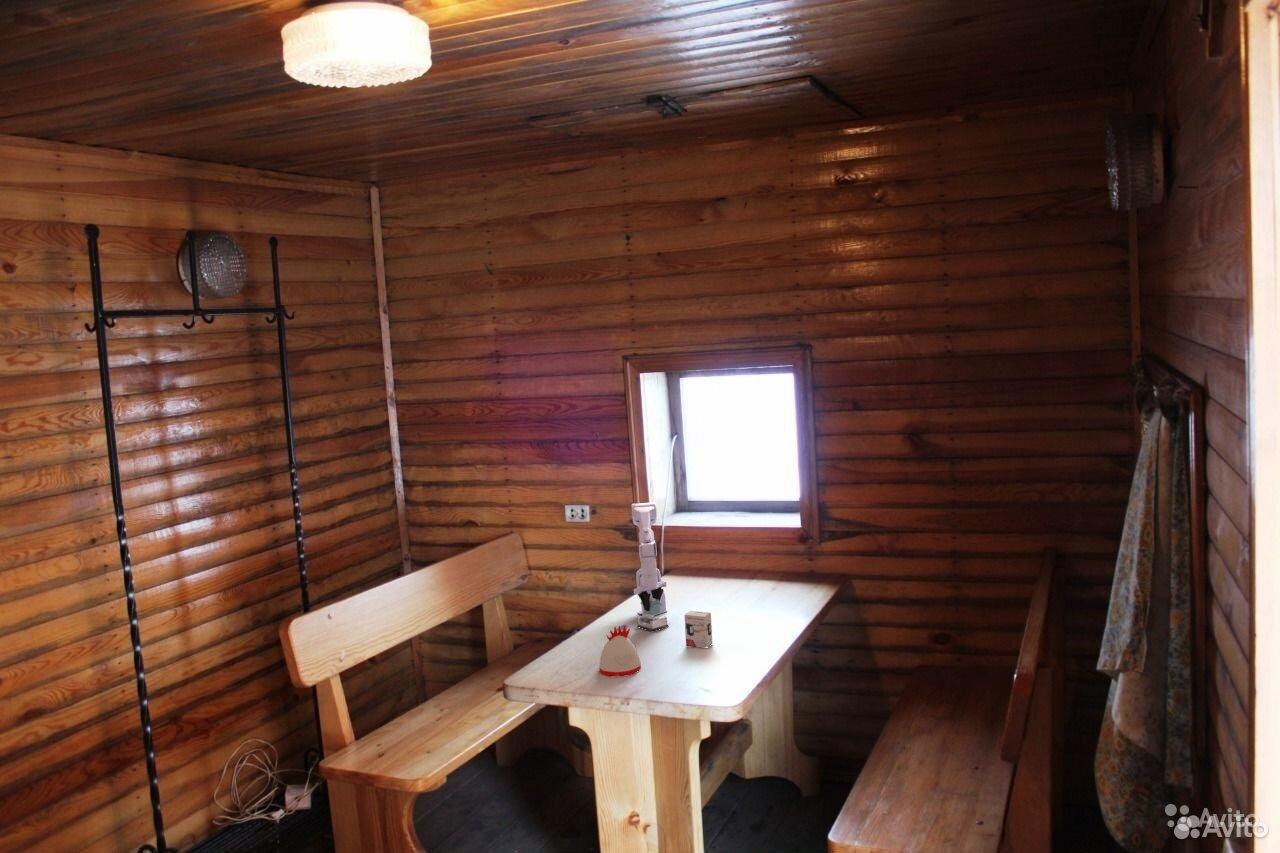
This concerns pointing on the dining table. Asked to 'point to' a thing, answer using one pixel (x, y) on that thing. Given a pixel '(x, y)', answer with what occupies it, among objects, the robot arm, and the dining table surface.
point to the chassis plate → (652, 622)
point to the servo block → (653, 606)
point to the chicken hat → (619, 655)
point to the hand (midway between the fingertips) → (651, 609)
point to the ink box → (698, 629)
